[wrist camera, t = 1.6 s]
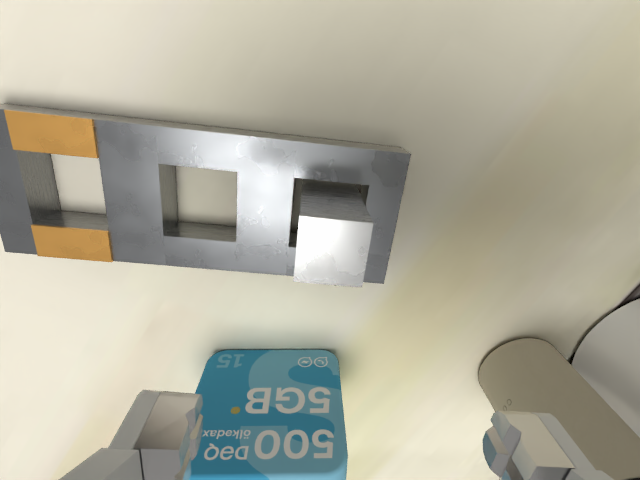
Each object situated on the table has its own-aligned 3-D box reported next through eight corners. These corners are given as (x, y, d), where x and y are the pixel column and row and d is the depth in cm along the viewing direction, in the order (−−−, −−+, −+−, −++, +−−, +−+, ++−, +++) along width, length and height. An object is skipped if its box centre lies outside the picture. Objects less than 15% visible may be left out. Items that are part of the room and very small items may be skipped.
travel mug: (569, 338, 33) (822, 580, 17) (541, 399, 37) (730, 653, 20) (490, 333, 33) (669, 576, 16) (467, 395, 36) (599, 652, 20)
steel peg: (354, 182, 27) (373, 223, 19) (347, 229, 28) (361, 287, 20) (302, 177, 27) (299, 216, 18) (298, 225, 28) (293, 281, 20)
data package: (337, 348, 33) (350, 475, 22) (335, 383, 35) (347, 518, 24) (211, 348, 33) (161, 478, 22) (216, 384, 35) (172, 520, 24)
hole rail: (400, 146, 26) (411, 154, 23) (377, 265, 30) (384, 285, 27) (4, 103, 24) (-38, 105, 21) (35, 235, 28) (3, 253, 25)
